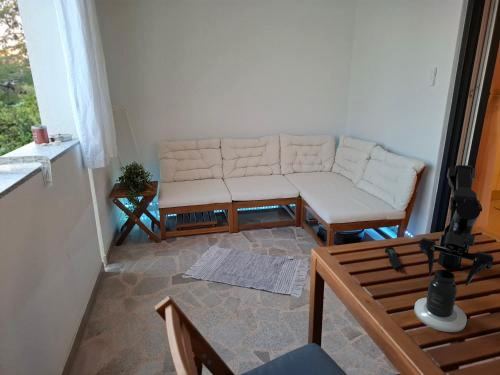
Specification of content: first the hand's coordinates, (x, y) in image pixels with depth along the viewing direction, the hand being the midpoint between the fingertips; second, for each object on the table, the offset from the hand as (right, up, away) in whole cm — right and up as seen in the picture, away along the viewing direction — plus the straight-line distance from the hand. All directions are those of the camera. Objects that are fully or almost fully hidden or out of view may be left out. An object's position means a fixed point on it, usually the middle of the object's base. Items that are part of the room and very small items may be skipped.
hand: (447, 279), depth 95 cm
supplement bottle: (-3, -9, -1) cm, 9 cm away
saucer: (-3, -10, -1) cm, 11 cm away
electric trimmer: (-3, -1, +29) cm, 29 cm away
